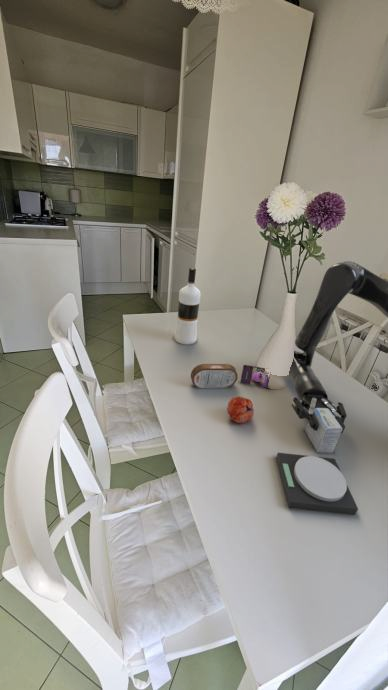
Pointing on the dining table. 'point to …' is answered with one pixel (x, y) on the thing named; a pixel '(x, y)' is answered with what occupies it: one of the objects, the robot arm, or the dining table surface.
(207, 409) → the dining table surface
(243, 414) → the pomegranate
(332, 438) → the medicine box
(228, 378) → the tin
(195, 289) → the vodka
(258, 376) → the purple box
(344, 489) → the kitchen scale
